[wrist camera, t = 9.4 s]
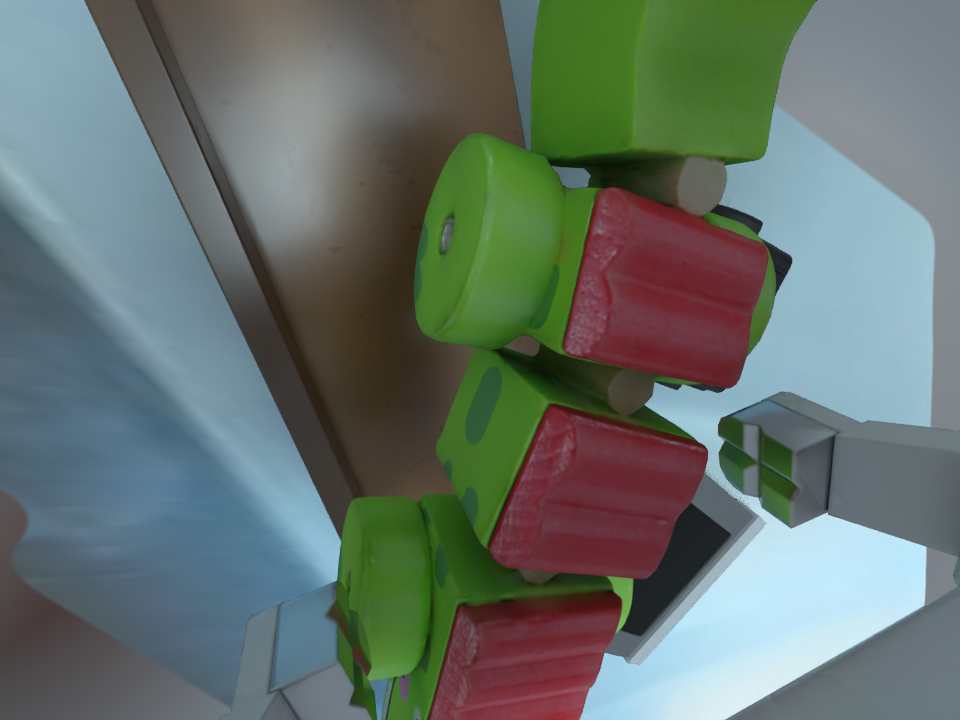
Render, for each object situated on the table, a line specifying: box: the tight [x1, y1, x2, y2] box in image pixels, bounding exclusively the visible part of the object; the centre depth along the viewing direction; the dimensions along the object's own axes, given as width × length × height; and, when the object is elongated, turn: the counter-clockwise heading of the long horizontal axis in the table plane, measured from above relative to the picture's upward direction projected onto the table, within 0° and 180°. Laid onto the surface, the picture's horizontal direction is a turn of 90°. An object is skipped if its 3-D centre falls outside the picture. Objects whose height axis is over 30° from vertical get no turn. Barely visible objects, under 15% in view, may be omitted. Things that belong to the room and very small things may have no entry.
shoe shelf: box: [84, 0, 540, 540], centre depth 22 cm, size 12×26×10 cm, turn 14°
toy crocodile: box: [337, 0, 817, 720], centre depth 10 cm, size 20×7×6 cm, turn 164°
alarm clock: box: [605, 473, 767, 665], centre depth 39 cm, size 17×5×16 cm
